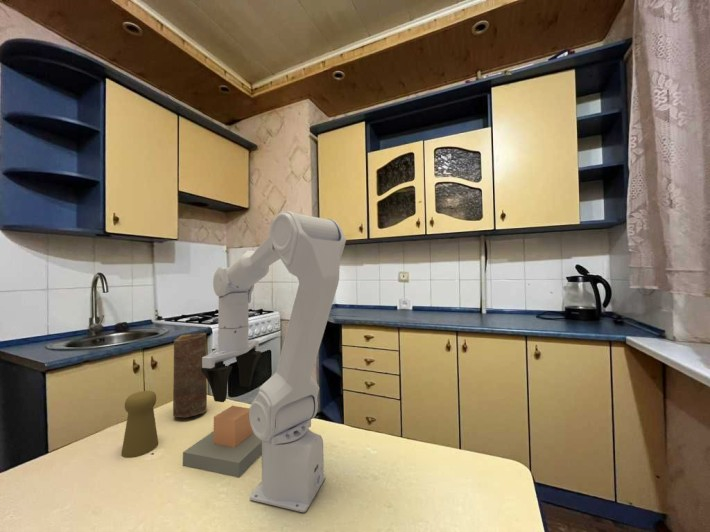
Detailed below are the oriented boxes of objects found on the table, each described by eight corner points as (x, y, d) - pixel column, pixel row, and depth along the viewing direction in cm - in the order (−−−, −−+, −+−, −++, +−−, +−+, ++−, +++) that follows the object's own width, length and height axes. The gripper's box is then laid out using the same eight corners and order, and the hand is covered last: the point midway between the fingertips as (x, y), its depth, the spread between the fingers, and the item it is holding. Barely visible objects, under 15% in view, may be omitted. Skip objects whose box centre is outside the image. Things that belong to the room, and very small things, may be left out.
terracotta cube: (252, 433, 59) (252, 408, 59) (234, 447, 54) (234, 420, 54) (232, 430, 60) (232, 405, 60) (213, 443, 56) (213, 416, 56)
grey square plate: (276, 442, 61) (276, 427, 61) (238, 480, 49) (238, 462, 49) (228, 434, 64) (228, 420, 64) (182, 469, 53) (182, 452, 53)
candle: (196, 422, 68) (196, 337, 69) (165, 422, 69) (166, 337, 69) (212, 408, 76) (212, 331, 77) (184, 408, 76) (185, 331, 77)
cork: (138, 459, 55) (139, 400, 55) (112, 455, 56) (113, 398, 56) (165, 441, 61) (166, 388, 61) (141, 438, 62) (142, 386, 62)
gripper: (240, 320, 68) (240, 379, 67) (189, 332, 54) (188, 406, 53) (266, 321, 66) (266, 381, 65) (220, 333, 52) (220, 410, 51)
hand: (233, 393), depth 59 cm, fingers open, 7 cm apart
